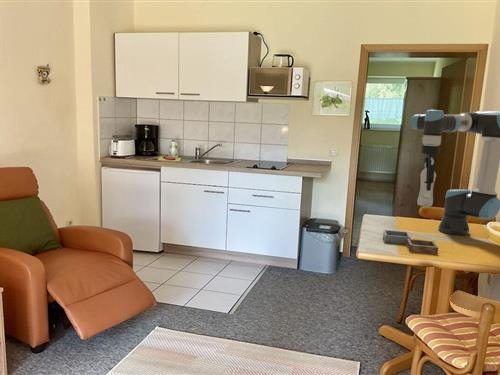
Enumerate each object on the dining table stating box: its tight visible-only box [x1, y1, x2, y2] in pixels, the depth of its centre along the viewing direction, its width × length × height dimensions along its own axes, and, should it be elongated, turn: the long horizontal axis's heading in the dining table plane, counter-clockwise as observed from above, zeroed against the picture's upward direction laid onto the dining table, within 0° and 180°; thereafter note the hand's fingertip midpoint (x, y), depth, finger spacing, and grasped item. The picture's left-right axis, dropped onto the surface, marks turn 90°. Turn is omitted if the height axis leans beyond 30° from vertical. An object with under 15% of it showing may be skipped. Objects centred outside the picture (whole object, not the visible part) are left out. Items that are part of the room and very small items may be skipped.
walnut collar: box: [405, 238, 439, 255], centre depth 206 cm, size 12×11×3 cm
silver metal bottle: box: [417, 163, 437, 208], centre depth 202 cm, size 6×7×20 cm
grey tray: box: [382, 229, 412, 245], centre depth 219 cm, size 12×11×4 cm
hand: (425, 196), depth 203 cm, fingers closed on silver metal bottle, 6 cm apart
